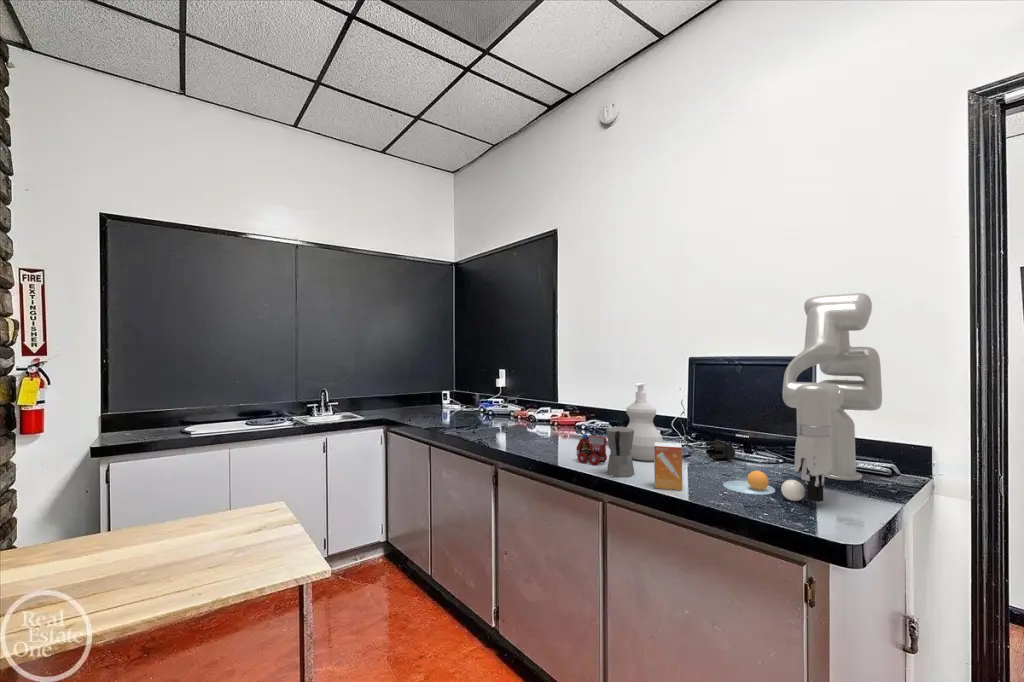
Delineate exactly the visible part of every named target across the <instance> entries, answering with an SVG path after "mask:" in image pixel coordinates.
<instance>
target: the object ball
mask: <svg viewBox="0 0 1024 682" xmlns="http://www.w3.org/2000/svg"><path fill="white" fill-rule="evenodd" d="M746 481H748V484H749V485H750V487H752V488H753V489H755V490H764V489H765V488H767V486H768V485H769V484H770V483H769V482H770V481H769V478H768V476H767V475H766V474H765V473H764V472H763V471H760V470H752V471H751V472H750V473H749V474H748V475H747V479H746Z"/></svg>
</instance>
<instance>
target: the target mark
mask: <svg viewBox="0 0 1024 682" xmlns="http://www.w3.org/2000/svg"><path fill="white" fill-rule="evenodd" d="M722 485H723V486H722V487H724V488H725V489H727V490H730V491H732V492H735V491H736V492H735V493H739V492H740V493H739V494H744V495H745V494H746V495H757V496H760V495H761V496H765V495H766V496H767V495H772V494H774V493H775V492H776V488H774V487H772V486H771V485H769V484H768V486H767V488H765V489H764V490H755V489H753V488H752V487H750V485H749V484H748V481H747V480H739V479H738V480H727V481H724V482H723V484H722Z"/></svg>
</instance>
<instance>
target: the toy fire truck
mask: <svg viewBox="0 0 1024 682" xmlns="http://www.w3.org/2000/svg"><path fill="white" fill-rule="evenodd" d="M607 445H608V438H607V437H606V436H600V435H599V436H597V435H588V434H585V433H584V434H583V435H582V438H580V440H579V441H578V443H577V446H576V456H577V460H578V462H579V463H580V462H581V464H586V463H587V462H588V461H589V463H590V465H592V466H597V465H599V464H600V463H601V462H603V463H605V462H606V461H607V459H608V455H607V448H606V446H607Z"/></svg>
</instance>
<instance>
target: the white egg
mask: <svg viewBox="0 0 1024 682" xmlns="http://www.w3.org/2000/svg"><path fill="white" fill-rule="evenodd" d="M780 489H781V493H782V495H783V496H784V497H785V499H787V500H789V501H793V502H798V501H800V500H803V498H805V495H806V489H805V487H804V485H803V484H802V483H801V482H799V480H798V481H797V480H795V479H787V480H785V481H784V482H783V483H782V484H781V488H780Z"/></svg>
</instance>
